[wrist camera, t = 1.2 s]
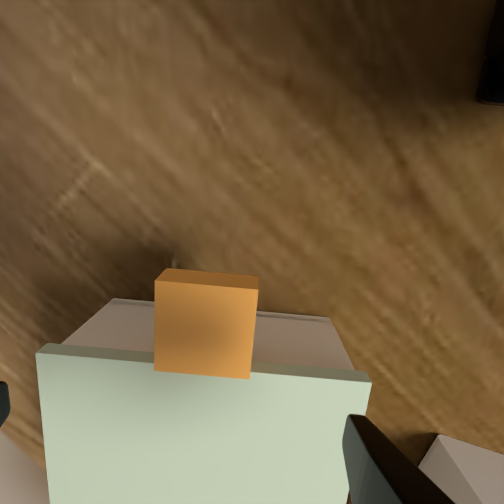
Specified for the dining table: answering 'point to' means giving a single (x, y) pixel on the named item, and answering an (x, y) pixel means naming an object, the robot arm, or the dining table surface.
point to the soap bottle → (465, 471)
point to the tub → (264, 344)
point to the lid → (195, 410)
